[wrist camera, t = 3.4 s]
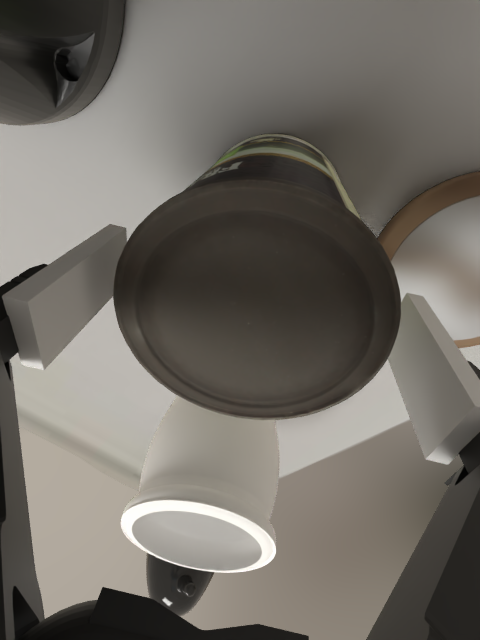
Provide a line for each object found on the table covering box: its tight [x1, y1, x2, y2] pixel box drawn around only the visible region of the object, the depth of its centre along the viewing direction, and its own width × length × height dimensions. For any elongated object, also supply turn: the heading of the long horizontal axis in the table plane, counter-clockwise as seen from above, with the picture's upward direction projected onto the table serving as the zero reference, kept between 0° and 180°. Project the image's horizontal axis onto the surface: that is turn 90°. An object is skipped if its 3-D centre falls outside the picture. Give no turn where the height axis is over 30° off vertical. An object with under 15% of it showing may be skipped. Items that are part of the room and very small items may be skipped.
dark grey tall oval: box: [146, 553, 214, 616], centre depth 38 cm, size 10×10×15 cm
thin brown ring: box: [377, 171, 480, 348], centre depth 23 cm, size 13×13×2 cm
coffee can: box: [113, 134, 401, 420], centre depth 17 cm, size 10×10×14 cm
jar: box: [121, 395, 279, 573], centre depth 27 cm, size 11×10×15 cm
